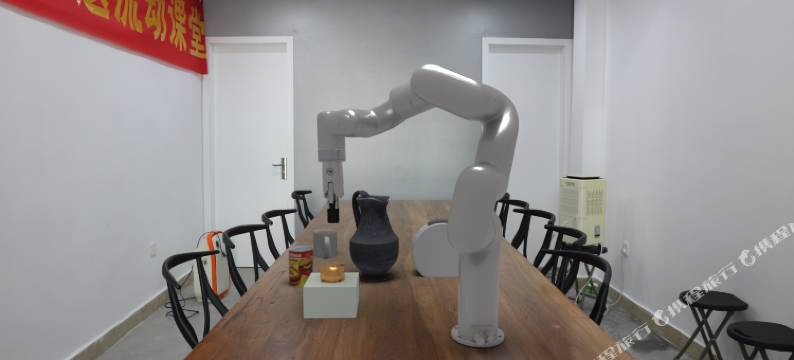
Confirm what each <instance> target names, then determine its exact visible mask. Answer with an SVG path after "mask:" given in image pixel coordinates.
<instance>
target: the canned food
mask: <svg viewBox="0 0 794 360" xmlns="http://www.w3.org/2000/svg"><path fill="white" fill-rule="evenodd" d="M311 273H314V255H313V246H311V245H296V246H291V247H289V248H288V281H289V282H288V286H290V287H291V288H303V287H304V285H305V283H306V281H307V280H308V278H309V276H310V274H311Z"/></svg>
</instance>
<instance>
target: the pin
mask: <svg viewBox="0 0 794 360" xmlns="http://www.w3.org/2000/svg"><path fill="white" fill-rule="evenodd" d="M345 266H346V265H345V263H342V262H332V261H331V262H325V263H322V264H321V265H319V267H320V268H319V269H320V272H319V273H320V280H321V281H322V282H324V283H338V282H342V281H344V280H345V273H346V267H345Z"/></svg>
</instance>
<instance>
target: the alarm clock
mask: <svg viewBox="0 0 794 360" xmlns="http://www.w3.org/2000/svg"><path fill="white" fill-rule="evenodd" d="M447 223H448V219H447V218H435V219H430V220H429V221H427V223H425V224H424V225H423V226H421V227H420V228H419V229H418V230H417V232H416V233H415V234H414V236H413V238H412V241H411V247H410V251H411V253H410V254H411V258H412V262H413V264H414V267H415V269H416V270H417V272H419V274H420V275H421V276H422V277H423V278H450V277H451V278H454V277H455V278H458V277H459V255H460V253H459V252H457V251H456V250H454V249H453V248H452V246H451V245H450V243H449V241H448V238H447Z"/></svg>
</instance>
